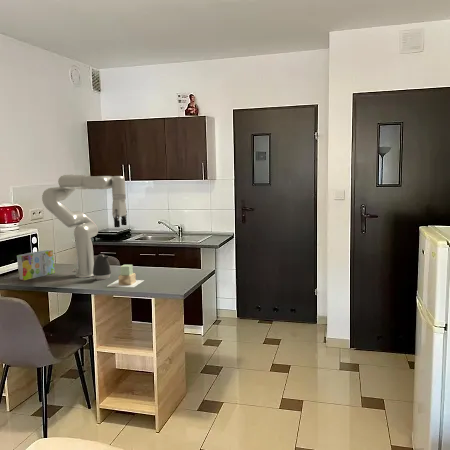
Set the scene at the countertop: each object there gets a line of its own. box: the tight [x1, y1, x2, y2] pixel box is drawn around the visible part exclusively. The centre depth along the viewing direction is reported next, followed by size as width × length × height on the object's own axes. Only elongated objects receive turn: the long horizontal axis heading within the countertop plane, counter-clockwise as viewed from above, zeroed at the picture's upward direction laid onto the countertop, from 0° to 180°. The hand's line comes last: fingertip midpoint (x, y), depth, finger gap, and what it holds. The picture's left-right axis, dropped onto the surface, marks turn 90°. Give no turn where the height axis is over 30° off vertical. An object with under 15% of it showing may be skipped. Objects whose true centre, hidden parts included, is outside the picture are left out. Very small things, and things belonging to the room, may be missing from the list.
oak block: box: [118, 272, 137, 285], centre depth 254 cm, size 7×7×5 cm
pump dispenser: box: [93, 253, 112, 281], centre depth 268 cm, size 10×10×15 cm
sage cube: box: [120, 264, 134, 276], centre depth 254 cm, size 5×5×5 cm
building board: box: [106, 279, 145, 288], centre depth 255 cm, size 16×15×1 cm
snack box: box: [16, 249, 56, 281], centre depth 281 cm, size 21×6×15 cm, turn 145°
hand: (120, 226), depth 272 cm, fingers open, 9 cm apart
